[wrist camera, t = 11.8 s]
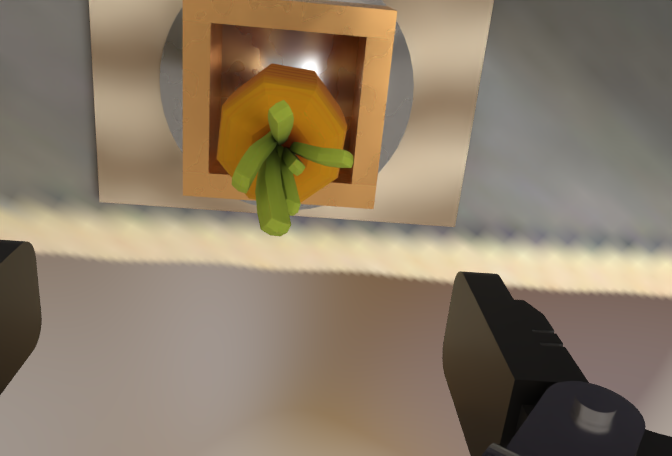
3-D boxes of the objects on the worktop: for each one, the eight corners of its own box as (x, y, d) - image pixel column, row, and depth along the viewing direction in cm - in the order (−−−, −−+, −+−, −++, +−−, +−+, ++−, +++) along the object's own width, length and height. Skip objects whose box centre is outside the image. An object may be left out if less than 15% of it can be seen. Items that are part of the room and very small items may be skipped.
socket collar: (160, -59, 30) (135, -63, 26) (428, -32, 31) (447, -33, 27) (163, 198, 35) (143, 229, 31) (395, 214, 36) (406, 247, 32)
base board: (92, -76, 31) (84, -78, 30) (493, -36, 32) (500, -36, 31) (106, 194, 36) (99, 201, 35) (450, 219, 37) (454, 226, 36)
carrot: (272, 21, 31) (241, 66, 17) (357, 75, 32) (391, 159, 18) (224, 106, 33) (159, 211, 19) (306, 155, 34) (302, 287, 20)
